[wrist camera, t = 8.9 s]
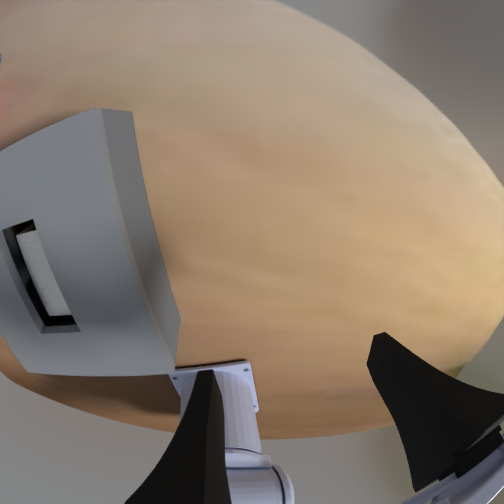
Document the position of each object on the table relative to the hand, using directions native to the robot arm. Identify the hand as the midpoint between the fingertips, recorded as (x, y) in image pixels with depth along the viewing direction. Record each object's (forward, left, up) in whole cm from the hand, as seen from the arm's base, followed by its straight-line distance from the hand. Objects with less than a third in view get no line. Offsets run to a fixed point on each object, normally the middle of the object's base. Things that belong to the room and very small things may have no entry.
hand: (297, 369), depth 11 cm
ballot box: (+4, +14, -10) cm, 18 cm away
